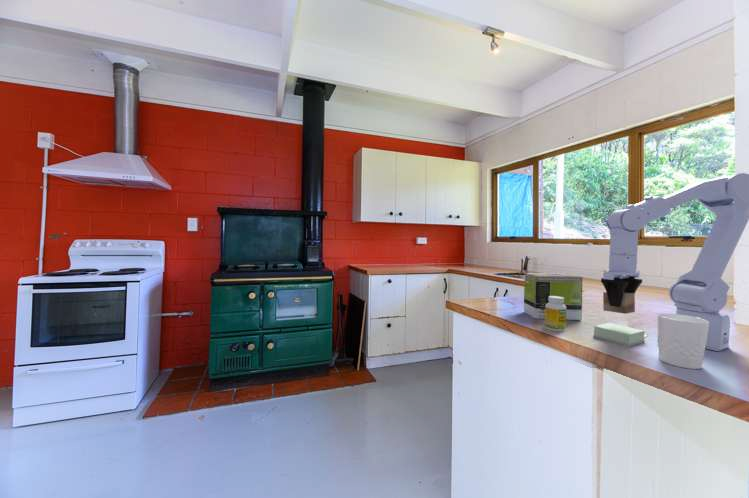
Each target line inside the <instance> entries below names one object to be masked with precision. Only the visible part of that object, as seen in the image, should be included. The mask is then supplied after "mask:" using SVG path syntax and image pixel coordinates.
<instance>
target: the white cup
mask: <svg viewBox="0 0 749 498" xmlns="http://www.w3.org/2000/svg"><path fill="white" fill-rule="evenodd" d="M708 326H709V321H707V320H704V319H701V318H697V317H692V316H686V315H678V314H676V313H664V312H663V313H657V347H658V360H660V361H661V362H662V363H666V364H667V365H671V366H676V367H679V368H684V369H691V370H701V369H702V368H703V362H704V361H703V360H704V356H705V353H706V348H705V347H706V341H707V333H708Z"/></svg>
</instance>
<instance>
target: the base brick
mask: <svg viewBox="0 0 749 498" xmlns="http://www.w3.org/2000/svg"><path fill="white" fill-rule="evenodd" d="M644 334H645V330H643V329H640V328H639V329H638V328H633V327H629V326H624V325H620V324H617V323H612V322H606V323H603V324H597V325H594V328H593V335H592V336H593V338H597V339H601V340H605V341H608V342H612V343H616V344H619V345H623V346H625V347H626V346H627V347H632V346H635V345H639V344H641V343H645V341H646V340H645V338H644Z"/></svg>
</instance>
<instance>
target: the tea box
mask: <svg viewBox="0 0 749 498" xmlns="http://www.w3.org/2000/svg"><path fill="white" fill-rule="evenodd" d="M523 284H524V288H523V290H524V292H523V312H524V313H525V314H526V315H529V316H530V317H532V318H533V319H540V320H541V319H542V320H545V307H546V304H547V303H549V301H548V297H549V296H559V297H563V298H564V303H563V304H564V305H565V306H566V321H570V320H571V321H582V319H583V318H582V317H583V276H578V275H574V274H570V273H569V274H568V273H552V272H551V273H550V272H549V273H547V272H543V273H542V272H541V273H539V272H538V273H537V272H534V273H533V272H525V273H524V283H523Z"/></svg>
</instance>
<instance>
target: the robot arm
mask: <svg viewBox="0 0 749 498" xmlns="http://www.w3.org/2000/svg"><path fill="white" fill-rule="evenodd" d="M695 200H697V202H699V203H700V204H701V205H703V206H704V207H705V208H706V209H707V210H708V211H709V212H710V213H714V215H715V216H716V218H715V219H714V221H713V224H712V225H711V228H710V230H709V232H708V235H707V236H706V239H705V241H704V243H703V246H702V247H701V249H700V252H699V253H698V256H697V258H696V260H695V262H694V265H693V266H692V269H691V270H690V271H688V272H686V273H683V274H681V275H680V276H678V277H679V278H678V280H677V281H676V282H675V283H673V284H672V285H671V286H670V288H669V291H668V296H669V298H670V300H671V301H672V302H673V303H674V304H673V305H674V307H676V309H675V310H676V311H675V314H678V315H686V316H692V317H697V318H701V319H704V320H707V321H709V326H708V333H707V341H706V347H705V350H711V351H716V352H720V351H723V350H725V349H727V348H730V344H729V342H730V341H729V340H730V327H731V320H730V316H729V315H728V314H724V313H720V311H721V310H723V308H725V306H726V305H727V302H728V291H729V289H730V286H729V285H728V284H727V283H726V282H725V281H724V279H723V278H722V277H723V275H724V273H725V271H726V268H727V266H728V264H729V263H730V260H731V257H732V255H733V253H734V251H735V249H736V247H737V245H738V242H739V241H740V239H741V237H742V236H743V233H744V231H745V229H746V226H747V224H748V223H749V173H745V172H743V173H742V172H740V173H736V174H733V175H732V174H731V175H728V176H727V175H726V176H723V177H717V178H711V179H703V180H700V181H698V182H693V183H692V184H689V185H687V186H685V187H683V188H681V189H679V190H677V191H674V192H673V193H671V194H668V195H666V196H664V197H662V196H658V195H655V196H654V195H650V196H649V195H647V196H646V197H644V198H643V201H640V202H638V203H635V204H628V205H626V208H625V209H619V210H615V211H613V212H611V213H610V215H609V216H608V218H607V219H606V220H605V226H606V227H607V229H608V230H609V236H610V240H609V241H610V242H609V257H608V259H609V261H608V269H603V273H602V274H603V277H601V278H600V282H601V283H602V285H603V287H604V289H605V292H607V296H608V300H609V304H610V306H616V307H620V305H621V303H622V298H623V293H624V292H628V293H635V294H636V291H637V289H638V288H639V286H641V284H642V283H643V279H642V278H640V273H641V272H640V270H637V267H638V266H637V264H638V262H637V261H638V245H639V244H638V243H639V231H641V230H642V229H643V228H644V227H645V225H647V224H649V223H651V222H654V221H657V220H658V219H661V218H665V217H666V216H668V215H669V214H670V212H671V209H673V208H676V207H678V206H681V205H684V204H686V203H689V202H692V201H695Z"/></svg>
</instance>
